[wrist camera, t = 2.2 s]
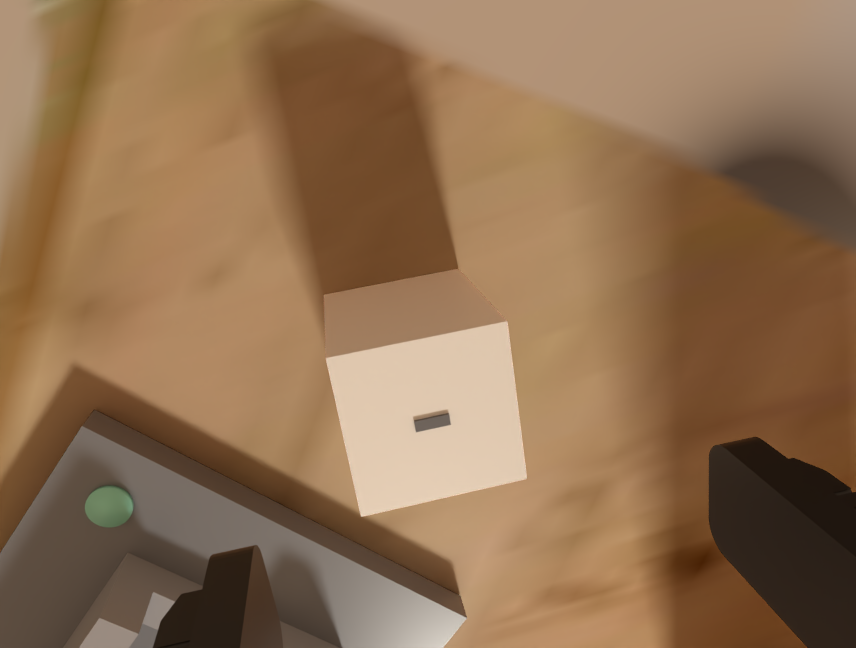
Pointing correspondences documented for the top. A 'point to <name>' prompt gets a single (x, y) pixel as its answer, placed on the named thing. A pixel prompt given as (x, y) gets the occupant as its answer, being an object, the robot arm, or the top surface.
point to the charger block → (423, 390)
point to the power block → (191, 557)
